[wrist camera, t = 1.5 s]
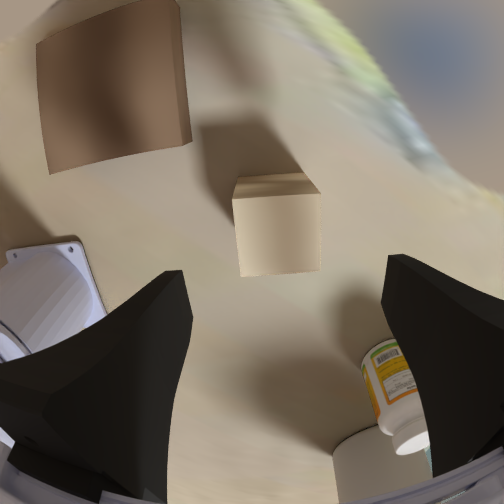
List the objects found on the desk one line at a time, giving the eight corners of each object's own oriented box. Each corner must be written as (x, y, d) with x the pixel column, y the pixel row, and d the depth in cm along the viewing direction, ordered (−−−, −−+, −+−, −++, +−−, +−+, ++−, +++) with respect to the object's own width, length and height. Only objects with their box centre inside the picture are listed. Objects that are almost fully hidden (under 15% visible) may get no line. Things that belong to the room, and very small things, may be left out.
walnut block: (73, 164, 18) (49, 174, 15) (61, 48, 14) (36, 44, 11) (193, 140, 17) (182, 145, 14) (181, 9, 13) (168, -7, 10)
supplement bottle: (391, 378, 26) (419, 457, 17) (349, 372, 25) (372, 461, 17) (422, 341, 24) (463, 421, 15) (380, 331, 23) (420, 424, 14)
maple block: (244, 237, 20) (240, 277, 15) (238, 176, 18) (231, 199, 13) (305, 232, 19) (320, 271, 15) (303, 172, 18) (320, 193, 13)
